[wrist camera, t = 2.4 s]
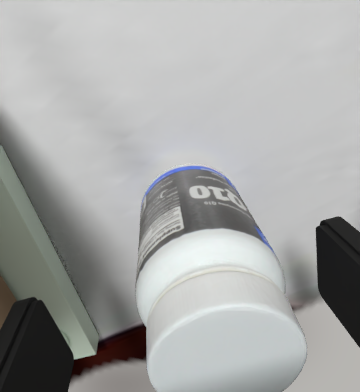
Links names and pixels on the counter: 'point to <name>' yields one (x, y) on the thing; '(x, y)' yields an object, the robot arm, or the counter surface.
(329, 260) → the robot arm
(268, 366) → the pill bottle
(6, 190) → the baseplate
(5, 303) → the brick
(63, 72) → the counter surface
